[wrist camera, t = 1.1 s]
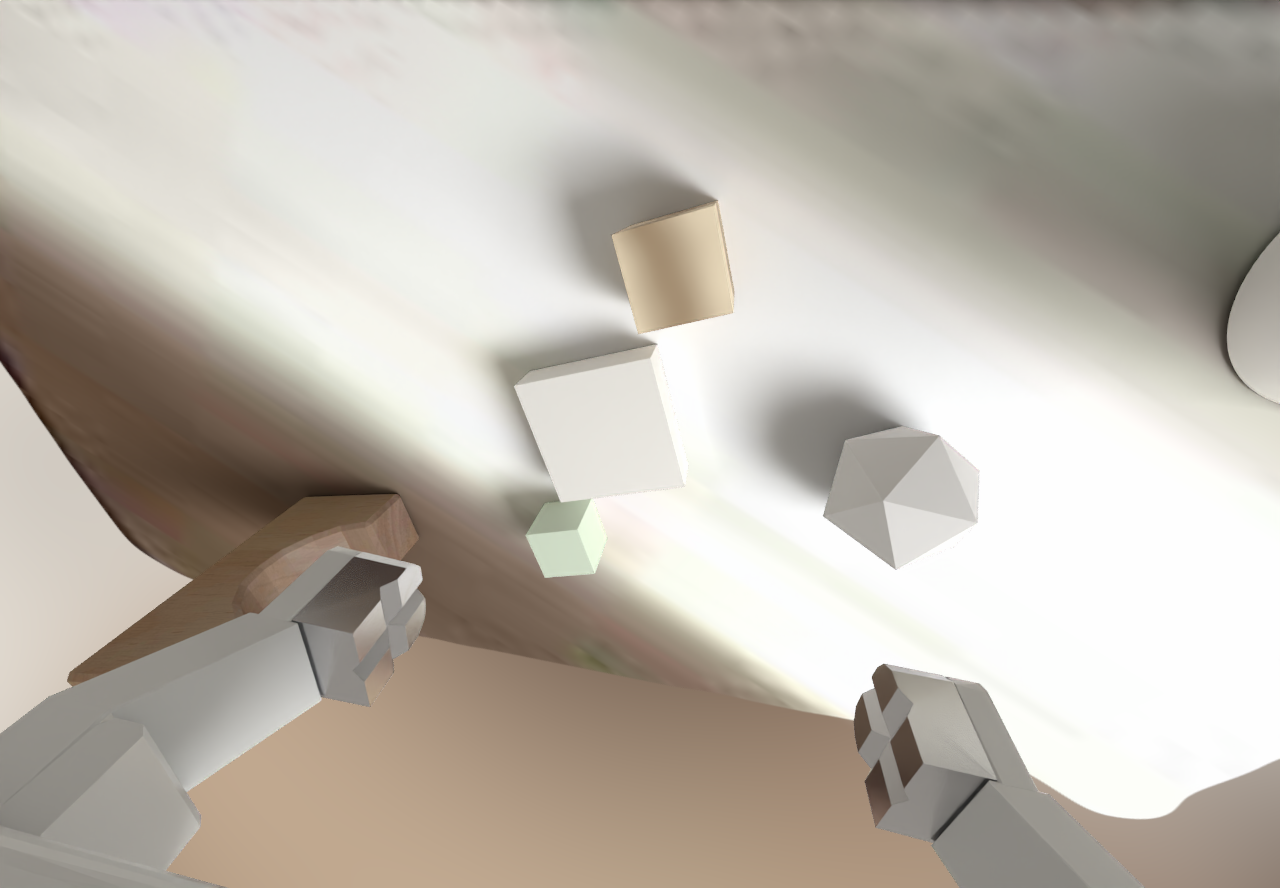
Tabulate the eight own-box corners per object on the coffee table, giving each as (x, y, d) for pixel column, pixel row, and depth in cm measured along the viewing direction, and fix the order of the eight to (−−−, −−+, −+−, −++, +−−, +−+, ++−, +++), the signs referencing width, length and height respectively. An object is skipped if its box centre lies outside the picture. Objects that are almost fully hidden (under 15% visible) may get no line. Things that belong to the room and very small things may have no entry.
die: (809, 413, 36) (792, 549, 32) (942, 378, 28) (940, 547, 25) (873, 460, 40) (865, 585, 36) (1004, 439, 33) (1010, 592, 29)
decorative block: (402, 491, 45) (194, 687, 28) (423, 540, 48) (245, 747, 31) (303, 493, 48) (56, 674, 31) (328, 539, 50) (114, 730, 33)
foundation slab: (657, 343, 34) (650, 358, 32) (688, 465, 39) (684, 486, 36) (529, 371, 37) (513, 386, 35) (572, 481, 41) (560, 502, 39)
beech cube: (717, 200, 30) (713, 205, 25) (734, 291, 32) (733, 313, 27) (631, 225, 31) (611, 235, 26) (652, 311, 33) (638, 334, 29)
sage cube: (592, 496, 42) (577, 529, 38) (607, 538, 44) (594, 573, 40) (545, 502, 43) (525, 535, 39) (561, 542, 45) (544, 577, 41)
